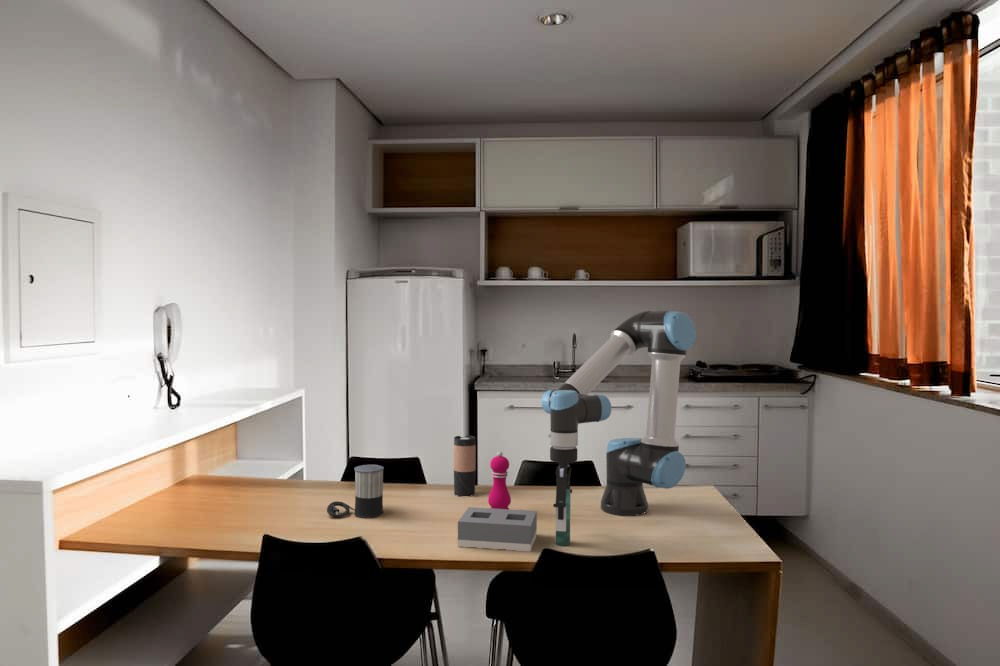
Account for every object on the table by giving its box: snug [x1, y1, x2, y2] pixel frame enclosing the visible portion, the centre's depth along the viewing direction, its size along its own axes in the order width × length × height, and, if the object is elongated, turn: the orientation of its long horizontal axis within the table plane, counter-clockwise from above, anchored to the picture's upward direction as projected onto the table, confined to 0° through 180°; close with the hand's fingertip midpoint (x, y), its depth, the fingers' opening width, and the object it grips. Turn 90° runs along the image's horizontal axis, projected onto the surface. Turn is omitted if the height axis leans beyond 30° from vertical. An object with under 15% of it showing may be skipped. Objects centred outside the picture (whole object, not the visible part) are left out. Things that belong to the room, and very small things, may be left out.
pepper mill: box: [487, 450, 512, 509], centre depth 221 cm, size 7×7×20 cm
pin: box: [555, 488, 572, 547], centre depth 194 cm, size 4×4×15 cm
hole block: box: [457, 506, 538, 553], centre depth 196 cm, size 20×14×7 cm
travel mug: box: [453, 435, 477, 497], centre depth 244 cm, size 8×8×20 cm
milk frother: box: [326, 464, 385, 519], centre depth 219 cm, size 14×16×15 cm
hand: (562, 523), depth 194 cm, fingers open, 12 cm apart
